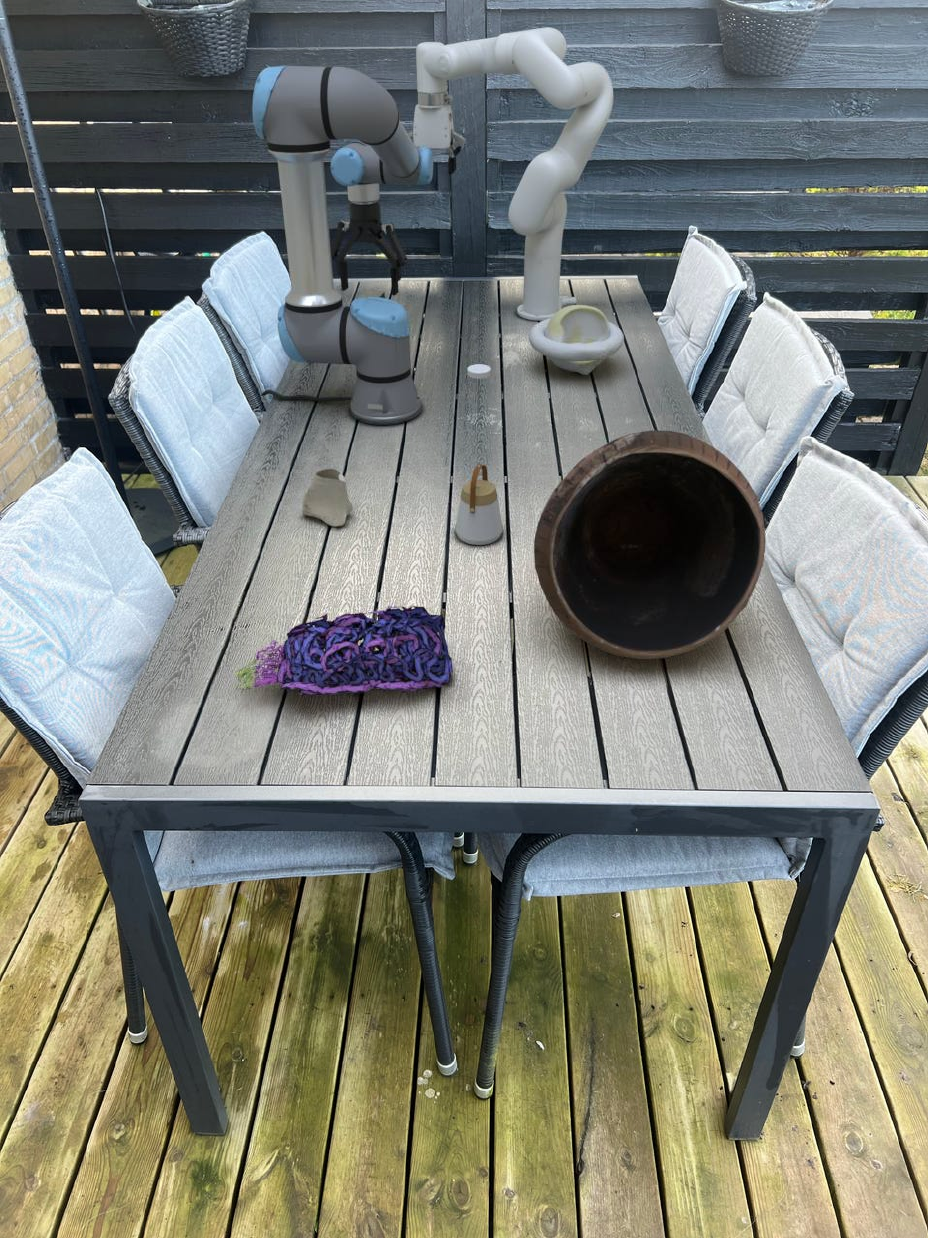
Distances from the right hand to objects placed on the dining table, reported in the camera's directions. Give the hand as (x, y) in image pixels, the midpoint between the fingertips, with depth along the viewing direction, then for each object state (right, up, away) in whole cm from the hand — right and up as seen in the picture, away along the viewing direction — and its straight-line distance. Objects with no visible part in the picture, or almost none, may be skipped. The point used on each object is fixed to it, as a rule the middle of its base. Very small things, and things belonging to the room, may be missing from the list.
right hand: (434, 172), depth 247 cm
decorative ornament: (-9, -128, -116) cm, 173 cm away
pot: (+35, -117, -102) cm, 159 cm away
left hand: (-16, -36, -13) cm, 41 cm away
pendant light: (+10, -104, -84) cm, 134 cm away
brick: (-16, -44, -6) cm, 47 cm away
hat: (+34, -60, -27) cm, 74 cm away
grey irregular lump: (-17, -101, -80) cm, 130 cm away
